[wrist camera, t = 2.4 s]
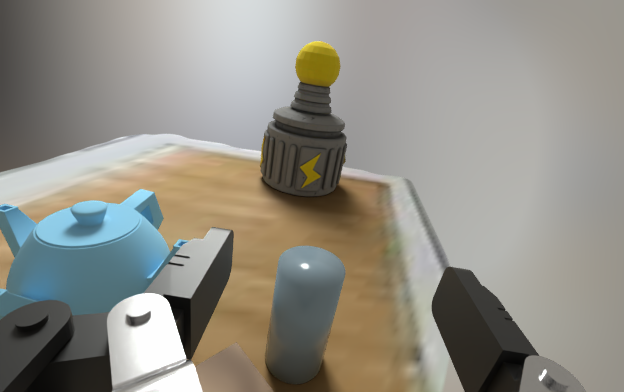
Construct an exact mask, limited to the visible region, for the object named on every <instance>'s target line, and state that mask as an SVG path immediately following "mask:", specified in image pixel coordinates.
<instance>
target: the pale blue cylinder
mask: <svg viewBox="0 0 624 392" xmlns="http://www.w3.org/2000/svg"><path fill="white" fill-rule="evenodd" d="M344 277H345V267H344V265H343V263H342V262H341V260H340V259H339V258H338V257H336V256H335V255H334V254H332V253H331V252H329V251H327V250H324V249H321V248H318V247H313V246H297V247H293V248H290V249H288V250H286V251H285V252H284V253H282V255H281V256H280V258H279V261H278V268H277V275H276V282H275V289H274V296H273V303H272V310H271V317H270V324H269V331H268V337H267V344H266V351H265V361H266V365H267V367H268V369H269V371H270V372H271V373H272V374H273V376H275V377H276V378H277V379H279V380H280V381H282V382H285V383H288V384H302V383H306V382H308V381H310V380H311V379H313V378H314V377H315V376H316V375H317V374H318V372H319V370H320V368H321V365H322V361H323V357H324V354H325V350H326V346H327V342H328V338H329V334H330V331H331V327H332V323H333V319H334V315H335V312H336V308H337V304H338V300H339V296H340V292H341V289H342V285H343V281H344Z"/></svg>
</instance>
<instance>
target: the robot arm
mask: <svg viewBox="0 0 624 392" xmlns="http://www.w3.org/2000/svg"><path fill="white" fill-rule="evenodd" d="M233 238H234V233H233V230H228V229H222V228H216V227H212V228H211V229H210V230H209V232H208V233H207V234H206V236H205V237H204V239H198V238H194V239H192V240H190V241H189V242H187V243H185V244H183V245H182V246H181V248H180V249H179V250H178V251H177V252H176V254H175V256H173V257H172V259H171V260H170V261H169V263H168V264H167V265H166V266H165V267H164V268H163V270H162V271H161V272H160V273H159V274H158V276H157V277H156V278H155V279H154V281H153V282H152V283H151V284H150V285H149V287H148V288H147V289H146V290H145V292H144V293H143V294H138V295H134V296H131V297H129V298H126V299H124V300H123V301H121V302H119V303H118V304H117V305H116V306H115V307H113V309H112V310H111V311H110V312H104V313H95V314H84V315H73V316H72V312H71V309H70V306H69V305H68V304H66V303H65V302H62V301H58V300H44V301H38V302H34V303H30V304H27V305H25V306H22V307H20V308H18V309H16V310H14V311H12V312H10V313H9V314H7V315H6V316H4V317H3V318H2V319H0V392H203V391H202V388H201V385H200V382H199V379H198V376H197V373H196V370H195V367H194V365H193V363H192V361H191V359H192V357H193V354H194V352H195V350H196V348H197V346H198V344H199V342H200V340H201V337H202V335H203V333H204V331H205V329H206V327H207V325H208V322H209V320H210V318H211V316H212V314H213V312H214V310H215V308H216V305H217V303H218V301H219V299H220V297H221V295H222V293H223V290H224V288H225V286H226V284H227V282H228V279H229V276H230V272H231V267H232V254H233ZM432 314H433V317H434V319H435V322H436V324H437V326H438V329H439V331H440V334H441V336H442V338H443V341H444V343H445V346H446V348H447V350H448V353H449V355H450V358H451V360H452V362H453V365H454V367H455V370H456V372H457V374H458V376H459V379H460V381H461V384H462V386H463V389H464V391H465V392H586V391H585V389H584V387H583V386H582V385H581V384H580V382H579V381H578V380H577V379H576V378H575V377H574V376H573V375H572V374H571V373H570V372H569V371H567V370H566V369H565V368H563V367H562V366H561V365H559V364H557V363H556V362H554V361H552V360H550V359H547V358H544V357H541V356H539V355H538V353H537V352H536V350H535V349H534V348H533V346H532V345H531V344H530V342H529V341H528V340H527V338H526V337H525V335H524V334H523V333H522V331H521V330H520V328H519V327H518V326H517V324H516V323H515V322H514V321H512V317H511V316H510V315H509V313H508V312H507V311H505V308H504V306H503V305H502V304H501V302H500V301H499V300H498V298H497V297H496V296H495V295H494V294H493V293H491V292H490V291H489V290H488V289H487V288H485V287H484V286H482V285H481V284H480V282H479V281H478V280H477V278H476V277H475V275H474V274H473V272H472V271H470V270H466V269H460V268H454V267H447V268H446V269H445V271H444V273H443V276H442V278H441V280H440V283H439V285H438V288H437V290H436V292H435V295H434V297H433V300H432ZM187 359H189V360H187Z"/></svg>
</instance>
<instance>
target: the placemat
mask: <svg viewBox="0 0 624 392" xmlns="http://www.w3.org/2000/svg"><path fill="white" fill-rule="evenodd" d="M195 370H196V373H197V376H198V379H199V382H200V385H201V388H202V391H203V392H274V391H273V390H272V388H271V387H270V386H269V384H268V383H267V382H266V380H265V379H264V378H263V377H262V375H261V374H260V373H259V371H258V370H257V369H256V367H255V366H254V365H253V363H252V362H251V361H250V359H249V358H248V357H247V355H246V354H245V353H244V351H243V350H242V349H241V348H240V346H239V345H238V344H237V342H236V343H235V344H233V345H231V346H229V347H228V348H226V349H224V350H223V351H221V352H219V353H217V354H216V355H214V356H212V357H210V358H209V359H207V360H205V361H204V362H202V363H200V364H198V365H197V366H195Z"/></svg>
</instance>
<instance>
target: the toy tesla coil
mask: <svg viewBox="0 0 624 392" xmlns="http://www.w3.org/2000/svg"><path fill="white" fill-rule="evenodd" d="M295 68H296V73H297V76H298V78H299V79H300V81H301V82H300V83H299V85H298V88H299V89H298V91H296V93H295V95H294V97H295V100H293V101H292V103H291V107H283V108H279V109H276V110H275V111H274V115H273V118H274V119H275V120H274V121H271V122H270V123H269V124H268V129H267V130H266V131H265V133H264V139H263V144H262V151H261V163H260V167H261V173H262V175H263V179H264V180H265V182H266V183H267V184H268V185H270V186H271V187H272V188H274V189H277V190H279V191H281V192H284V193H288V194H291V195H297V196H304V197H317V196H323V195H327V194H329V193H331V192H332V191H334V189H335V188H336V184H338V183H339V180H340V177H341V171H342V166H343V164H344V163H345V152H346V148H347V144H346V136H345V134H344V133H342V132H341V131H342V130H343V129H344V127H345V123H344V122H343V120H341V119H340V118H339V117H337V116H336V115H333V114H331V107H330V106H329V103H331V98H330V97H329V93H330V88H329V86H331V84H333V83H334V82H335V80H336V79H337V77H338V75H339V71H340V60H339V57H338V55H337V53H336V51H335V49H333V48H332V47H331V46H330V45H329V44H327V43H324V42H322V41H321V42H312V43H309V44H307V45H306V46H305V47H303V48H302V49H301V51H300V52H299V54H298V56H297V59H296V66H295Z"/></svg>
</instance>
